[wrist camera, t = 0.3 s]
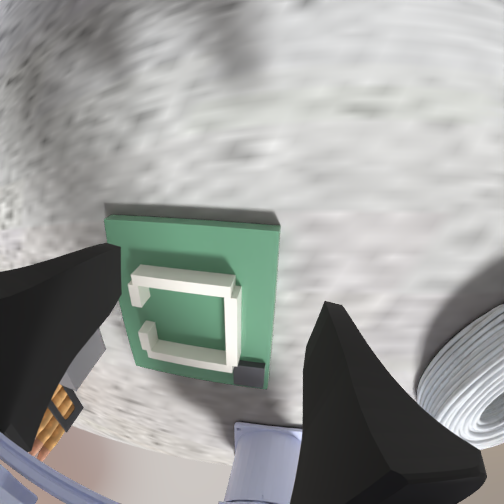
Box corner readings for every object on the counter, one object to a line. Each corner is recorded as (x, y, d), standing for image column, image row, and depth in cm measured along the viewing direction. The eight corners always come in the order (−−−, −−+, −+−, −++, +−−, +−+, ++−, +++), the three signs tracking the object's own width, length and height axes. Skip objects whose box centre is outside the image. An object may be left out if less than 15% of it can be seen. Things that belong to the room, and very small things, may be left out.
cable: (540, 380, 22) (558, 415, 17) (419, 436, 27) (426, 479, 22) (564, 261, 16) (601, 296, 11) (403, 337, 22) (421, 394, 16)
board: (268, 380, 25) (264, 402, 23) (140, 358, 27) (129, 376, 25) (280, 225, 19) (277, 241, 17) (111, 214, 21) (91, 227, 19)
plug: (105, 349, 27) (76, 391, 22) (69, 338, 28) (38, 375, 23) (95, 317, 26) (60, 359, 20) (58, 307, 26) (22, 343, 21)
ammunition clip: (43, 349, 30) (-11, 414, 20) (52, 352, 30) (-2, 420, 19) (74, 404, 35) (35, 464, 24) (83, 407, 35) (45, 470, 24)
